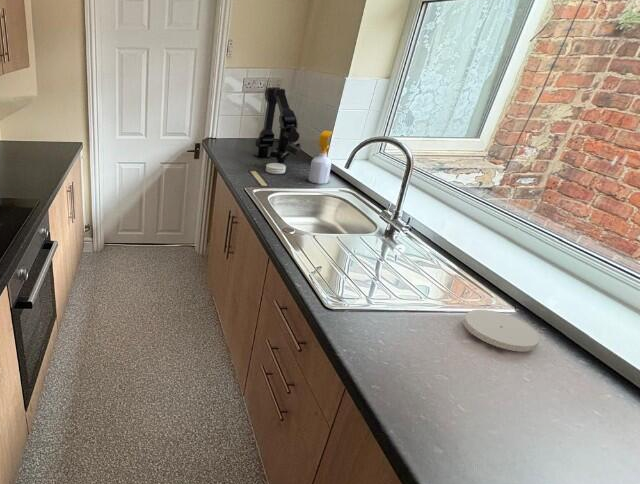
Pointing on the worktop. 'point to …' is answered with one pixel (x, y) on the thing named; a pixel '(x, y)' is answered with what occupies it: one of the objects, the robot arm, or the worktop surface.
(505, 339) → the plastic lid
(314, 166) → the soap bottle
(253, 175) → the strip
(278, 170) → the white round container
